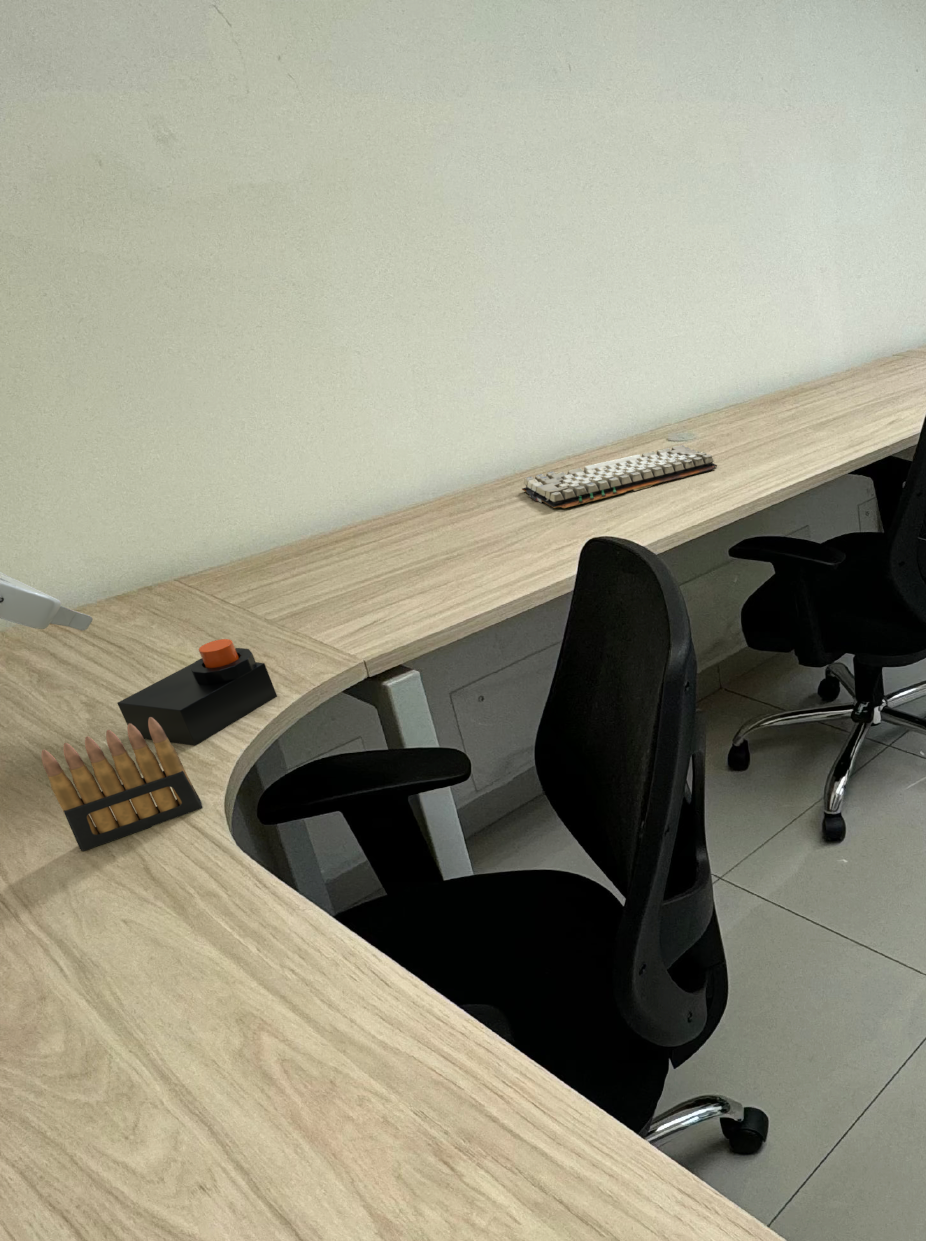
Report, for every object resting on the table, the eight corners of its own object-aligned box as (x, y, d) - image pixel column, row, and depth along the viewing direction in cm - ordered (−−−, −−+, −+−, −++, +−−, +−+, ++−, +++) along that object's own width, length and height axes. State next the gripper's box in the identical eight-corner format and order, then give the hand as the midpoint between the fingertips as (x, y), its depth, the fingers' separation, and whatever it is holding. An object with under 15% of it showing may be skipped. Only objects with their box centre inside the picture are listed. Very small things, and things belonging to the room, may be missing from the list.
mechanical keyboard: (679, 452, 230) (677, 438, 229) (721, 469, 218) (719, 454, 216) (518, 493, 208) (514, 478, 206) (555, 515, 195) (551, 499, 193)
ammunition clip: (81, 851, 104) (30, 757, 99) (80, 843, 105) (31, 749, 100) (202, 808, 110) (161, 717, 105) (201, 801, 111) (160, 710, 106)
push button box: (133, 738, 124) (110, 690, 121) (220, 689, 135) (201, 644, 132) (197, 746, 122) (176, 697, 119) (280, 695, 133) (263, 650, 130)
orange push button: (198, 668, 126) (191, 650, 125) (223, 654, 130) (216, 637, 129) (221, 670, 126) (213, 653, 125) (245, 657, 129) (238, 639, 128)
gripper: (-32, 556, 99) (123, 607, 110) (-93, 527, 109) (54, 576, 121) (-69, 613, 97) (91, 659, 109) (-127, 578, 108) (25, 623, 119)
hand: (71, 615), depth 115 cm, fingers open, 8 cm apart
